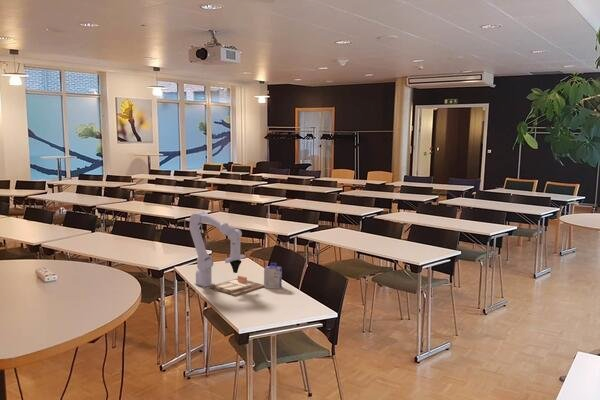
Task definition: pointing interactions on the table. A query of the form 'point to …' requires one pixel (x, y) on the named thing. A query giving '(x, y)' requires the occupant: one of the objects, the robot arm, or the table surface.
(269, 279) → the ink cartridge box
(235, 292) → the board
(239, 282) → the stub
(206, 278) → the robot arm
